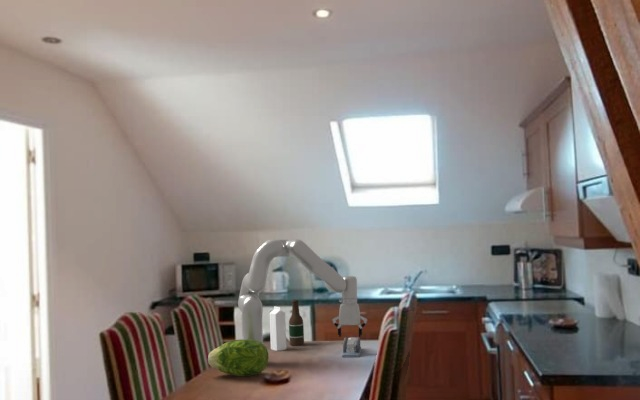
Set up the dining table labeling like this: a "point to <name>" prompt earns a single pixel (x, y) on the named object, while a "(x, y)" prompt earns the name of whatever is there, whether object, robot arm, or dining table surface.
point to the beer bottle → (296, 326)
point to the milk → (277, 329)
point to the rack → (357, 351)
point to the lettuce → (239, 357)
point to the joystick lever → (351, 345)
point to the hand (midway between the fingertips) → (350, 336)
